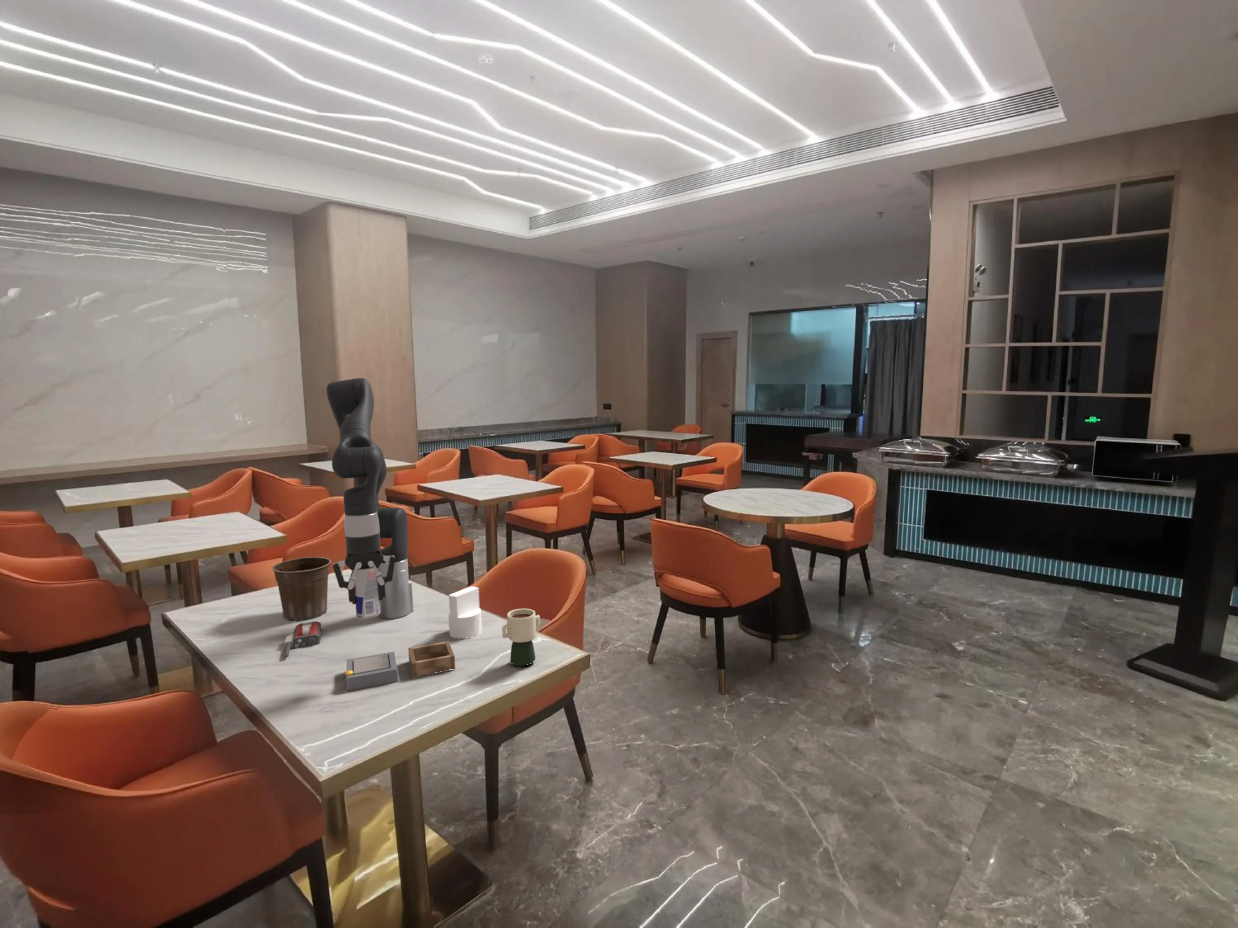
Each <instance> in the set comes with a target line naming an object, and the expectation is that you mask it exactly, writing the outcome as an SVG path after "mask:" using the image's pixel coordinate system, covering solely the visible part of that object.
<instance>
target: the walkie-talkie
mask: <svg viewBox="0 0 1238 928" xmlns="http://www.w3.org/2000/svg"><path fill="white" fill-rule="evenodd" d="M321 623H322V622H320V621H316V620H315V621H314V620H313V621H310V622H309V621H308V622H307V621H306V622H302V623H298V624H297V625H296V626H295V628H294V630H293V633H291V634H289V635H287V636H285V639H284V641H283V645H284V646H283V647H284V654H283V655H284V657H285V658H288V657H289V655H290V651H291V649H297V648H303V647H309V646H315V645H320V644H321V640H322V638H321V637H322V636H321V635H322V626H321Z"/></svg>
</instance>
